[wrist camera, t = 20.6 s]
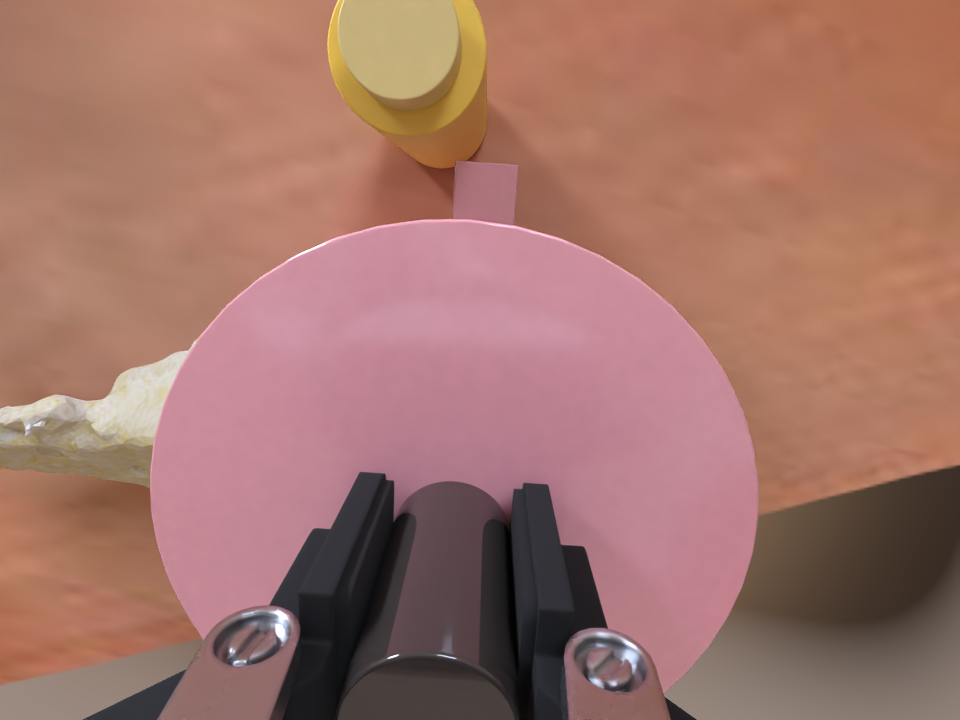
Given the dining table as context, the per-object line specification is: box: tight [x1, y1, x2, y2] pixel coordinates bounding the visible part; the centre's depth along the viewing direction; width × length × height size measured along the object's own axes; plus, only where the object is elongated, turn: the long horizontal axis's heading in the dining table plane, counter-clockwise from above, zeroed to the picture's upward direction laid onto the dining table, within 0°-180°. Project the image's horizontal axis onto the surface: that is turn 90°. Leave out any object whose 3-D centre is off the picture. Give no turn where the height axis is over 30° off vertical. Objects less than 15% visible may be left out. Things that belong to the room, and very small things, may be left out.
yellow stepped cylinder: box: [327, 0, 487, 168], centre depth 20 cm, size 5×5×13 cm
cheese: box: [0, 339, 198, 489], centre depth 27 cm, size 15×7×15 cm
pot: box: [452, 160, 518, 225], centre depth 26 cm, size 13×18×8 cm
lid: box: [150, 219, 758, 720], centre depth 10 cm, size 14×14×6 cm
